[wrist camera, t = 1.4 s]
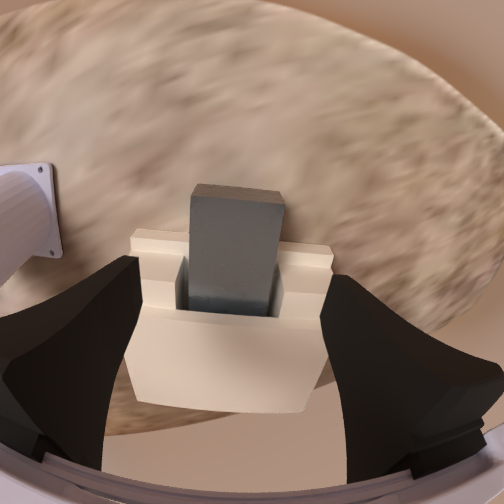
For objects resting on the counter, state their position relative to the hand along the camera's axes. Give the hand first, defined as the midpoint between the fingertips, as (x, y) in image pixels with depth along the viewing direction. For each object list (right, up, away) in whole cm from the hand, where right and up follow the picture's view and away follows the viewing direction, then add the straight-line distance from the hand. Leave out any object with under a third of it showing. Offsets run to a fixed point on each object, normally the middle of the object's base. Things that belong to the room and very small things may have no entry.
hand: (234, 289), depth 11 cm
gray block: (-1, 0, +9) cm, 10 cm away
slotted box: (-1, -3, +13) cm, 13 cm away
